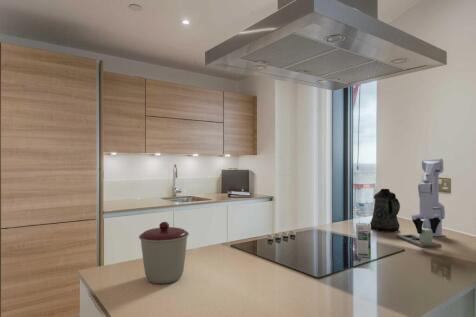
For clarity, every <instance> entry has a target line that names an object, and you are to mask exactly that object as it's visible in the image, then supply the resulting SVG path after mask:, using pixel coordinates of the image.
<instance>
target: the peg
mask: <svg viewBox="0 0 476 317" xmlns="http://www.w3.org/2000/svg"><path fill="white" fill-rule="evenodd" d="M418 234H419V233H418ZM419 237H420V242H421V243H423V244H432V241H433V236H432V230H431V229H427V228H423V227H422V234H419Z"/></svg>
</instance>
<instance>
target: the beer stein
mask: <svg viewBox="0 0 476 317" xmlns="http://www.w3.org/2000/svg"><path fill="white" fill-rule="evenodd" d="M373 199H374V207H373V213H372V216H371V221H370V222H369V224H370V228H371V230H372V231H375V232H381V233H398V232H399V230H400V222H399V220H398V215H399V212H400V210H401V204H400V201H399V199H398V198H397V196H396V193H395V192H391V191H390V189H389V188H381V189H380V190H379V191H378V192H376V193H375V194H374V195H373Z"/></svg>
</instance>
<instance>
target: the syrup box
mask: <svg viewBox="0 0 476 317" xmlns="http://www.w3.org/2000/svg"><path fill="white" fill-rule="evenodd" d="M355 227H356V228H355V230H356V232H355V234H356V235H355V236H356V237H355V238H356V239H355V240H356V242H355V244H356V256H357V258H361V257H362V258H372V247H371V244H372V243H371V239H372V238H371V237H372V236H371V235H372V234H371V230H372V229H371V225H370V222H368V223H367V222H355Z"/></svg>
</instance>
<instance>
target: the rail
mask: <svg viewBox="0 0 476 317" xmlns="http://www.w3.org/2000/svg"><path fill="white" fill-rule="evenodd" d="M395 237H396V238H397V239H400V240H402V241H405V242H407V243H410V244H413V245H414V246H418V247H419V248H422V249H424V248H425V249H427V248H442V244H441V243H438V242H436V241H433V240H432V244H423V243H421V242H420V236H418V235H415V234H396V235H395Z"/></svg>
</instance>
